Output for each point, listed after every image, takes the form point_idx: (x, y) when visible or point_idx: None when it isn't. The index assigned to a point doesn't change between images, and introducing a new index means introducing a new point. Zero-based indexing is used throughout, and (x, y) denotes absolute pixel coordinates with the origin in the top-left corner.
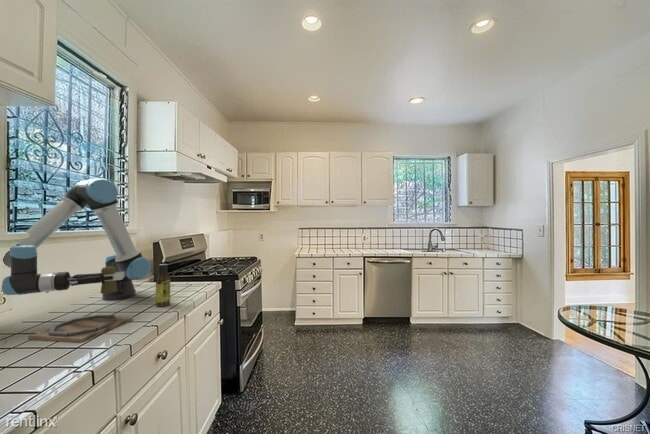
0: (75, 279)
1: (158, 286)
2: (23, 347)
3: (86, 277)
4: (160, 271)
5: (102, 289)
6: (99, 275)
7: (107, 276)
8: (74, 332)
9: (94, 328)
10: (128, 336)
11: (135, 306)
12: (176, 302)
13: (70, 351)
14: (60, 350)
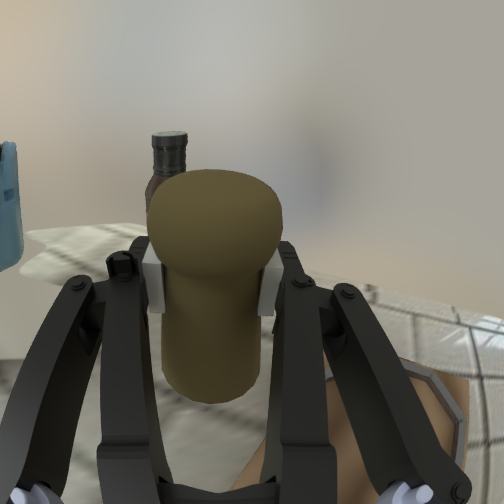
0: (454, 462)
1: None
2: (483, 496)
3: (327, 419)
4: (180, 162)
5: (249, 373)
6: (142, 330)
7: (287, 262)
8: (459, 408)
9: (435, 375)
10: (427, 315)
11: None
12: None
13: (490, 378)
14: (491, 399)
